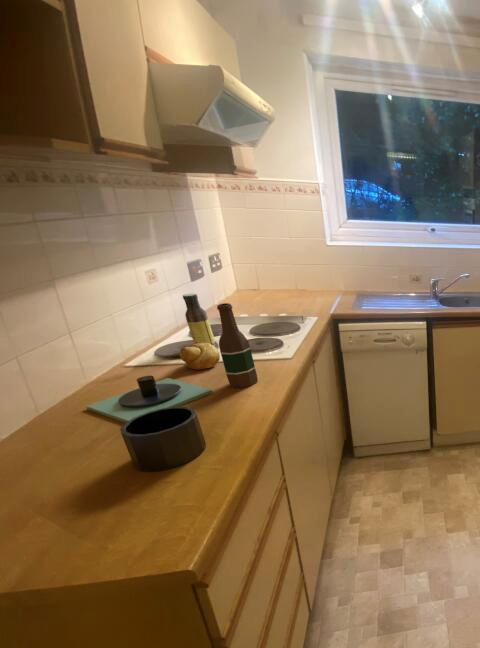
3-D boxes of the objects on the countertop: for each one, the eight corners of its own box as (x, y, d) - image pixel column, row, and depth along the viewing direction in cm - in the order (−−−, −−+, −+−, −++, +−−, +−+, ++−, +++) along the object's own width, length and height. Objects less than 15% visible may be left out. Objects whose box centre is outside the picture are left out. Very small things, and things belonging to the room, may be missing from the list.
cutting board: (132, 425, 106) (131, 421, 105) (87, 409, 113) (85, 406, 113) (213, 392, 123) (212, 389, 122) (168, 380, 130) (167, 377, 130)
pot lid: (138, 412, 109) (131, 392, 107) (108, 403, 114) (100, 383, 112) (192, 391, 121) (187, 373, 119) (163, 383, 126) (157, 365, 124)
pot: (157, 478, 87) (144, 441, 83) (120, 463, 91) (106, 428, 88) (218, 446, 97) (208, 413, 94) (183, 434, 102) (172, 402, 99)
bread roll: (192, 359, 146) (186, 337, 143) (226, 356, 149) (220, 333, 146) (182, 373, 135) (175, 349, 132) (218, 369, 138) (212, 345, 135)
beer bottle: (238, 390, 124) (217, 309, 115) (223, 385, 127) (201, 305, 118) (264, 381, 130) (246, 303, 121) (248, 376, 134) (230, 299, 124)
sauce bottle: (208, 344, 160) (193, 291, 152) (220, 346, 158) (206, 292, 150) (191, 350, 154) (174, 295, 147) (203, 352, 152) (187, 296, 145)
